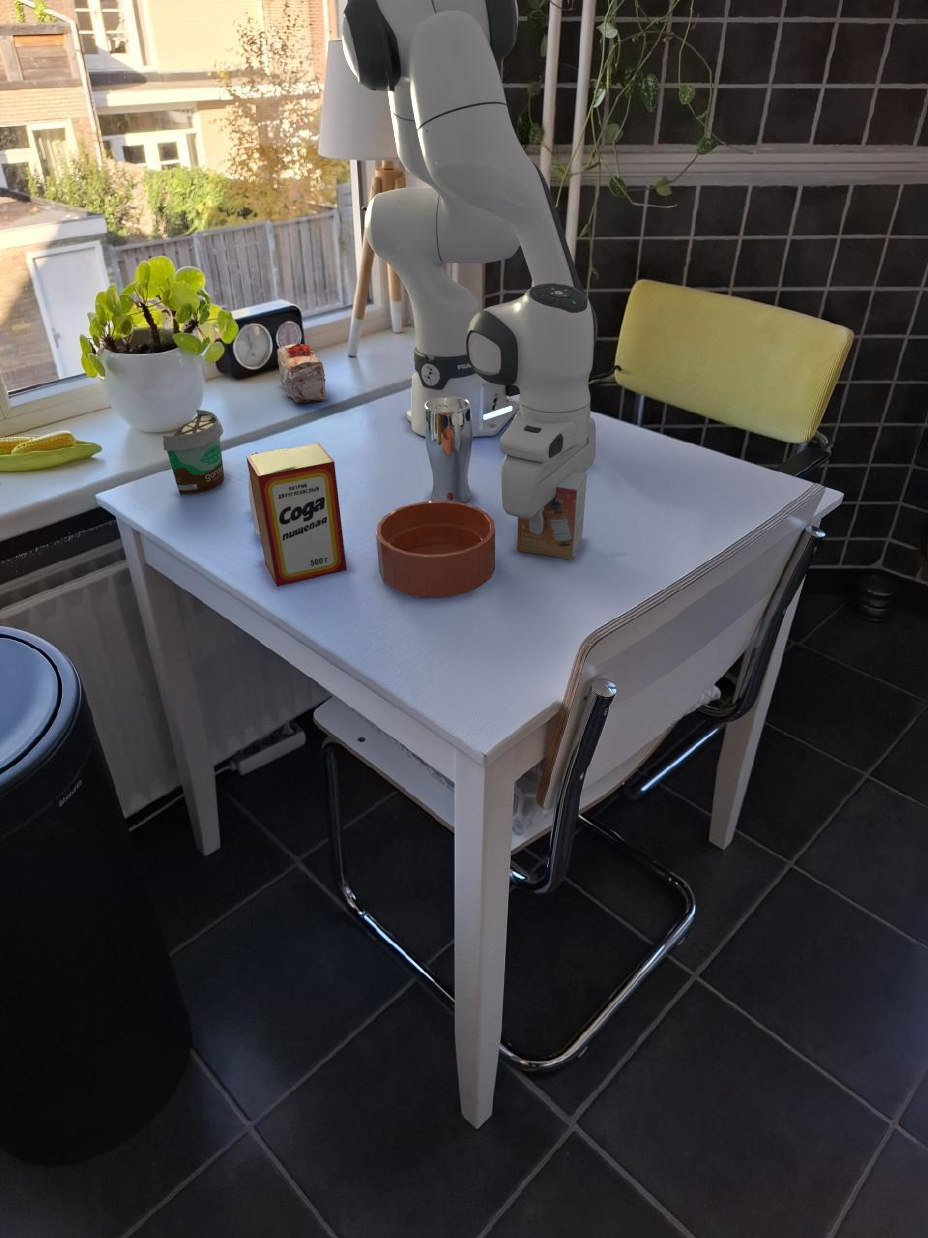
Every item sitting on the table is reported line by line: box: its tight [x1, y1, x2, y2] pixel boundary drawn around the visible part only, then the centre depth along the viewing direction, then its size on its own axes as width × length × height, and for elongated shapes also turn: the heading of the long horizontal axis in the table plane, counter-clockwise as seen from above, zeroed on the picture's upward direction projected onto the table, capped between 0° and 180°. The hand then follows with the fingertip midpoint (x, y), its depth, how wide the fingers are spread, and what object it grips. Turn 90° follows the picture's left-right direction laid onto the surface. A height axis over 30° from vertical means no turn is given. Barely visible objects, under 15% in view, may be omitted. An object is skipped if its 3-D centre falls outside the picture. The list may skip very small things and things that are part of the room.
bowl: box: [375, 500, 496, 599], centre depth 113 cm, size 15×15×6 cm
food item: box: [277, 342, 326, 404], centre depth 171 cm, size 14×8×10 cm, turn 24°
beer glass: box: [424, 396, 473, 504], centre depth 129 cm, size 7×7×15 cm
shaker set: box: [248, 451, 261, 538], centre depth 123 cm, size 12×4×11 cm, turn 14°
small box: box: [516, 472, 588, 561], centre depth 117 cm, size 8×6×10 cm
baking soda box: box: [246, 442, 348, 588], centre depth 112 cm, size 10×6×16 cm
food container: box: [162, 409, 225, 495], centre depth 137 cm, size 12×6×10 cm, turn 168°
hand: (550, 520), depth 118 cm, fingers closed on small box, 6 cm apart
